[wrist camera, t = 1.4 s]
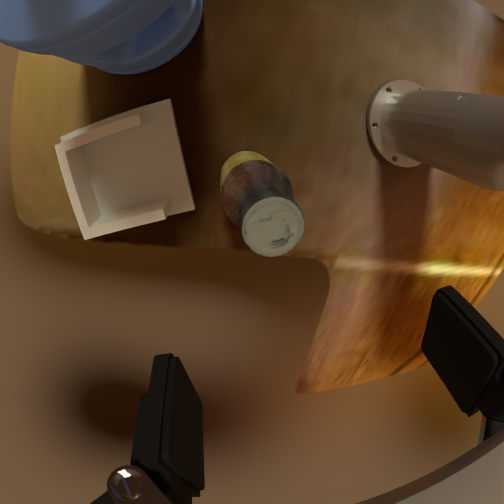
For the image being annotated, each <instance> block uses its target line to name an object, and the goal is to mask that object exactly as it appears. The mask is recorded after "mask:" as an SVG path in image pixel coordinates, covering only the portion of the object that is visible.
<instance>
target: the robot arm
mask: <svg viewBox="0 0 504 504" xmlns="http://www.w3.org/2000/svg"><path fill="white" fill-rule="evenodd" d="M386 89H387V91H386ZM373 124H374V126H372V125H373ZM367 128H368V133H369V137H370V139H371V142H372V144H373V146H374V147H375V149H376V151H377V152H378V153H379V154H380V155H381V156H382V157H383V158H384V159H385V160H387V161H388V162H390V163H392V164H394V165H397V166H400V167H405V168H409V167H415V166H418V165H420V164H422V163H423V164H426V165H429V166H431V167H434V168H436V169H439V170H441V171H444V172H446V173H449V174H451V175H454V176H456V177H458V178H461V179H463V180H465V181H468V182H470V183H472V184H475V185H477V186H479V187H481V188H484V189H487V190H491V191H502V190H504V96H496V95H487V94H477V93H465V92H451V91H426V90H425V89H424V88H423V87H421V86H420V85H418V84H417V83H414V82H412V81H408V80H394V81H390V82H388V83H385V84H384V85H382V86H381V87H380V88H379V89H378V90H377V91H376V92H375V93H374V95H373V97H372V99H371V101H370V103H369V107H368V111H367ZM421 348H422V351H423V353H424V355H425V356H426V358H427V359H428V361H429V362H430V363H431V365H432V366H433V368H434V369H435V371H436V372H437V373H438V375H439V377H440V378H441V380H442V381H443V383H444V384H445V386H446V387H447V389H448V390H449V392H450V394H451V395H452V397H453V398H454V400H455V401H456V403H457V405H458V406H459V408H460V409H461V411H462V412H464V413H466V414H467V415H468V417H470V416H472V415H474V414H475V413H477V412H478V411H479V410H480V411H481V413H482V420H481V427H480V433H479V438H478V444H477V446H476V447H475V448H473V449H471V450H470V451H468V452H466V453H465V454H463V455H462V456H460V457H458V458H457V459H455V460H453V461H451V462H449V463H448V464H446V465H444V466H442V467H440V468H438V469H437V470H435V471H433V472H431V473H429V474H427V475H425V476H423V477H421V478H419V479H417V480H414V481H412V482H410V483H408V484H406V485H403V486H401V487H399V488H396V489H394V490H391V491H389V492H387V493H384V494H382V495H379V496H376V497H373V498H371V499H368V500H365V501H362V502H359V503H356V504H504V340H503V338H502V337H501V336H500V335H499V334H498V333H497V331H495V329H494V328H493V327H492V326H491V325H490V324H489V323H488V322H487V321H486V320H485V319H484V318H483V317H482V316H481V315H480V313H478V311H477V310H476V309H475V308H474V307H473V306H472V305H471V304H470V303H469V302H468V301H467V300H466V299H465V298H464V297H463V296H462V295H461V294H460V293H459V292H458V291H456V290H455V289H454V288H453V287H452V286H446V287H443V288H440V289H438V290H437V291H436V293H435V295H434V296H433V299H432V303H431V308H430V312H429V317H428V321H427V325H426V329H425V333H424V336H423V340H422V344H421ZM204 486H205V482H204V453H203V406H202V402H201V400H200V398H199V396H198V394H197V392H196V391H195V388H194V386H193V384H192V382H191V381H190V379H189V377H188V375H187V373H186V371H185V369H184V367H183V365H182V363H181V361H180V359H179V357H174V356H173V354H171V353H169V354H161V355H155V357H154V361H153V366H152V372H151V378H150V384H149V390H148V393H143V394H142V395H141V398H140V401H139V407H138V413H137V420H136V426H135V433H134V441H133V448H132V455H131V464H130V465H124V466H120V467H118V468H116V469H115V470H114V471H113V472H111V474H110V476H109V477H108V480H107V491H106V492H105V493H104V494H103V495H102V496H100V497H98V498H97V499H96V500H94V501H93V502H92V503H90V504H192V497H200V490H204Z"/></svg>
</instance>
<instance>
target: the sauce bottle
mask: <svg viewBox="0 0 504 504" xmlns="http://www.w3.org/2000/svg"><path fill="white" fill-rule="evenodd" d="M220 185H221V199H222V203H223V206H224V210H225V213H226V215H227V216H228V218H229V220H230V221H231V222H232V223H233V224H234V225H237V226H238V227H239V228H241V234H242V237H243V239H244V242H245V243H246V245H247V246H248V247H249V248H250V249H251V250H252V251H254V252H255V253H257V254H259V255H261V256H267V257H277V256H281V255H284V254H285V253H287V252H289V251H291V250H292V249H293V248H294V247H295V246H296V245H297V244H298V243H299V242H300V240H301V238H302V236H303V234H304V230H305V221H304V216H303V214H302V211H301V209H300V208H299V207H298V205H297V204H296V203H295V202H294V201H293V189H292V186H291V183H290V181H289V179H288V177H287V176H286V175H285V174H284V172H283V171H282V170H280V169H279V168H278V167H277V166H275V165H274V164H272V163H271V162H270V161H268V160H267V159H266V158H265V157H263V156H262V155H260V154H258V153H255V152H251V151H241V152H238V153H236V154H234V155H232V156H230V157H229V159H228V160H227V161H226V162H225V163H224V165H223V167H222V170H221V175H220Z"/></svg>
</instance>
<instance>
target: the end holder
mask: <svg viewBox="0 0 504 504" xmlns="http://www.w3.org/2000/svg"><path fill="white" fill-rule="evenodd" d="M60 138H61V143H59V144H57V145H55V149H56V153H57V157H58V161H59V164H60V168H61V172H62V175H63V178H64V182H65V185H66V188H67V191H68V195H69V198H70V201H71V204H72V207H73V210H74V213H75V215H76V218H77V221H78V224H79V227H80V229H81V232H82V235H83V237H84V240H86V239H90V238H94V237H97V236H101V235H105V234H109V233H112V232H116V231H120V230H124V229H128V228H132V227H136V226H140V225H144V224H148V223H152V222H156V221H160V220H165V219H166V218H167V216H169V215H173V214H178V213H182V212H186V211H191V210H195V207H196V206H195V202H194V198H193V194H192V190H191V186H190V182H189V178H188V174H187V169H186V165H185V161H184V156H183V152H182V148H181V143H180V139H179V134H178V130H177V125H176V121H175V116H174V111H173V106H172V102H171V99H166V100H163V101H159V102H156V103H152V104H149V105H145V106H142V107H139V108H136V109H132V110H129V111H126V112H123V113H120V114H117V115H115V116H112V117H109V118H106V119H103V120H101V121H98V122H95V123H93V124H90V125H88V126H85V127H83V128H80V129H78V130H75V131H73V132H71V133H68V134H66V135H64V136H62V137H60Z"/></svg>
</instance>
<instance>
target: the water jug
mask: <svg viewBox="0 0 504 504" xmlns="http://www.w3.org/2000/svg"><path fill="white" fill-rule="evenodd" d="M202 13H203V2H202V0H0V42H1V43H3V44H5V45H8V46H11V47H14V48H16V49H19V50H22V51H26V52H31V53H36V54H43V55H54V56H58V57H62V58H64V59H66V60H69V61H71V62H74V63H78V64H82V65H87V66H94V67H96V68H98V69H100V70H102V71H105V72H108V73H113V74H137V73H142V72H146V71H149V70H152V69H154V68H157V67H159V66H161V65H163V64H165V63H166V62H168V61H170V60H171V59H173V58H174V57H175V56H177V55H178V54H179V53H180V52H181V51H182V50H183V49H184V48H185V47H186V46H187V45H188V44H189V42H190V41H191V40H192V38H193V37H194V35H195V34H196V32H197V30H198V28H199V25H200V22H201V19H202Z"/></svg>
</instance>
